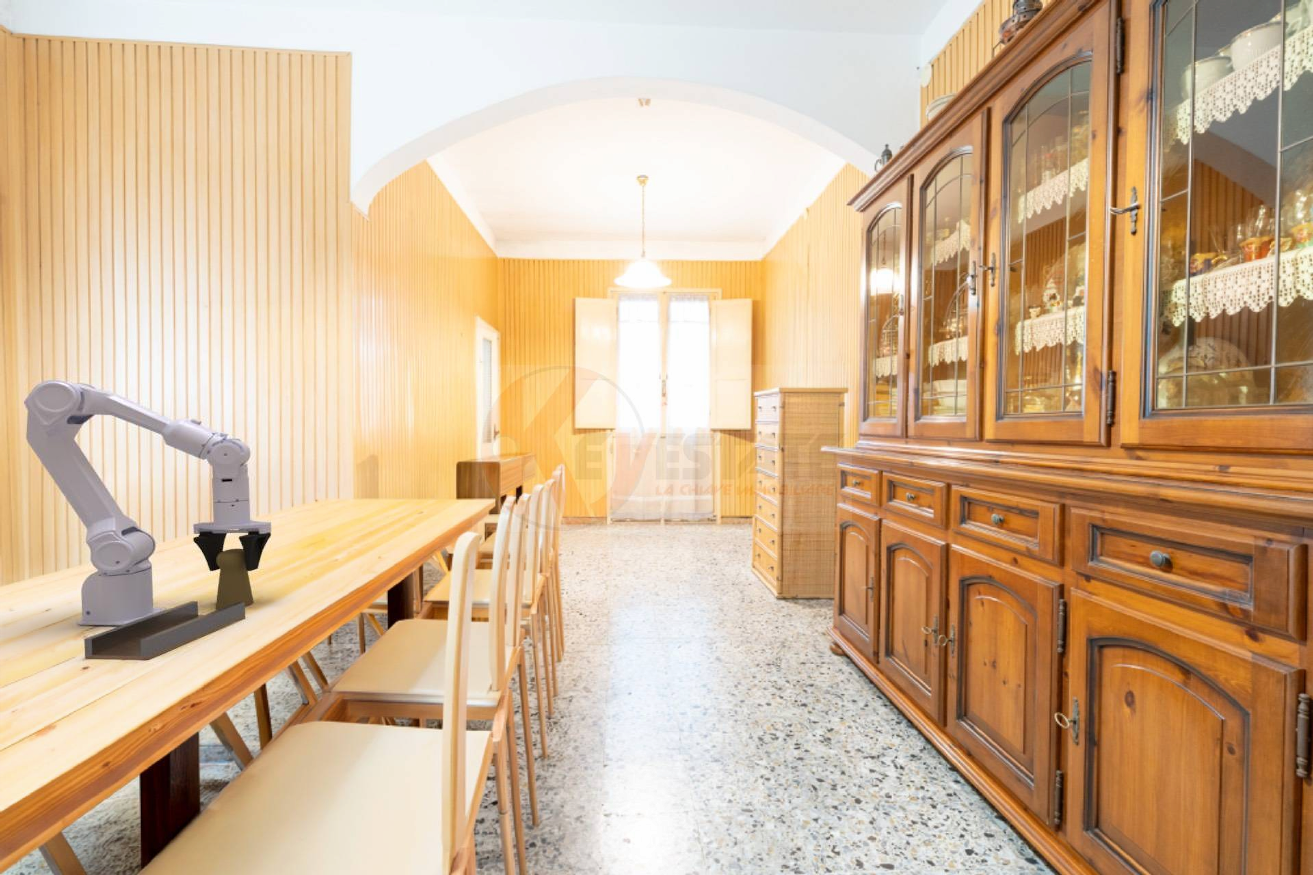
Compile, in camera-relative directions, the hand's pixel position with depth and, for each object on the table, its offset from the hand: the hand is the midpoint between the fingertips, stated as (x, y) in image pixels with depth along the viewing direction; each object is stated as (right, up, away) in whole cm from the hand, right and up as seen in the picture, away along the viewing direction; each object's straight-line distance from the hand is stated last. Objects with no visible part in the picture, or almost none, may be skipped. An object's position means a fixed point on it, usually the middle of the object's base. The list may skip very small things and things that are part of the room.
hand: (234, 569), depth 110 cm
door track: (+2, -7, -16) cm, 18 cm away
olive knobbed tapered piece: (0, -7, 0) cm, 7 cm away
